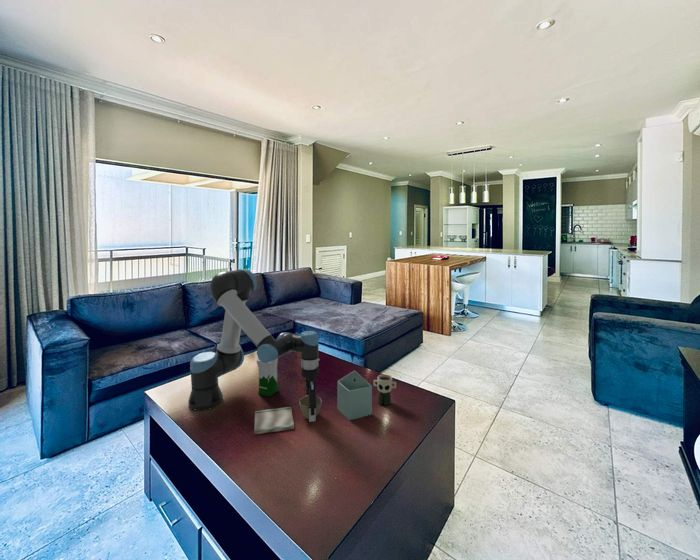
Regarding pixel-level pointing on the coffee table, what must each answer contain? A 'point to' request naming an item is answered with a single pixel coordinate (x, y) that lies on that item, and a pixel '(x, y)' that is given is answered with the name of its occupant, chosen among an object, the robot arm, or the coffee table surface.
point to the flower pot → (305, 404)
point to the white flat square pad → (273, 420)
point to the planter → (354, 396)
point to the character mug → (384, 388)
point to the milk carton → (268, 377)
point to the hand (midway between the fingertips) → (310, 414)
